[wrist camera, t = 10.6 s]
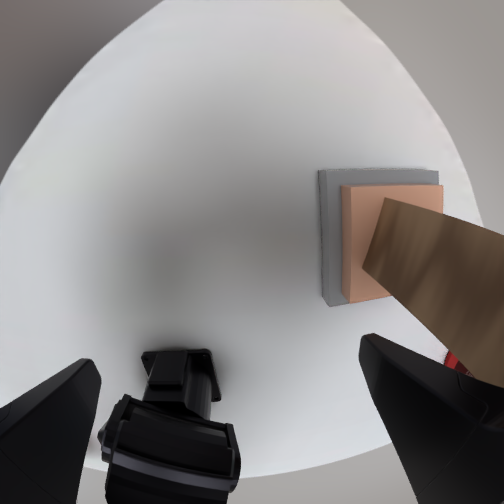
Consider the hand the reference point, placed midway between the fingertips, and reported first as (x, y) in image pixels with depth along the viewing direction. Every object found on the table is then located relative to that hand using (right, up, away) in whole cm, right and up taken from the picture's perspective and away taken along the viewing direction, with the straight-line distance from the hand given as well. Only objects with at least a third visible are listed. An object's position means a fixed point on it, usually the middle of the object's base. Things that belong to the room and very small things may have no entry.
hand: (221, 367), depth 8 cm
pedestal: (+11, +5, +13) cm, 18 cm away
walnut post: (+11, +4, +9) cm, 15 cm away
